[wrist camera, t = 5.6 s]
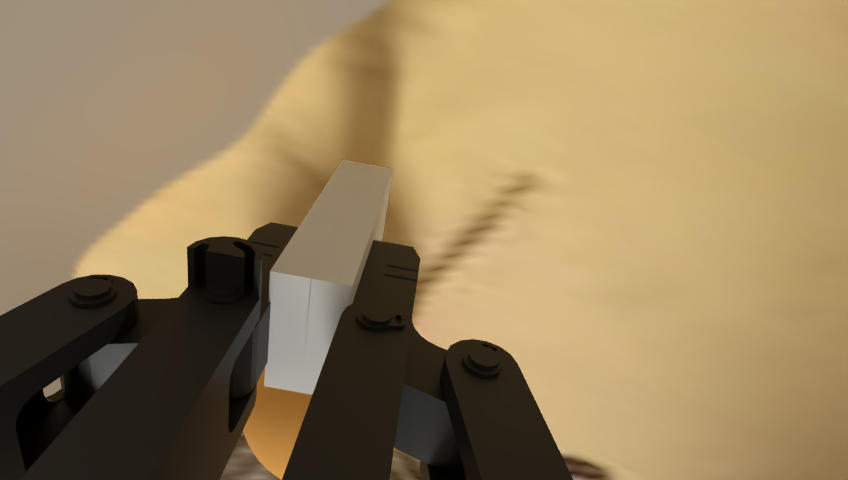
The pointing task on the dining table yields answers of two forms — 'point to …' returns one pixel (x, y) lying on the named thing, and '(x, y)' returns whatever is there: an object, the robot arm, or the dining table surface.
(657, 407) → the dining table surface
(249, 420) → the ball
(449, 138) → the dining table surface
